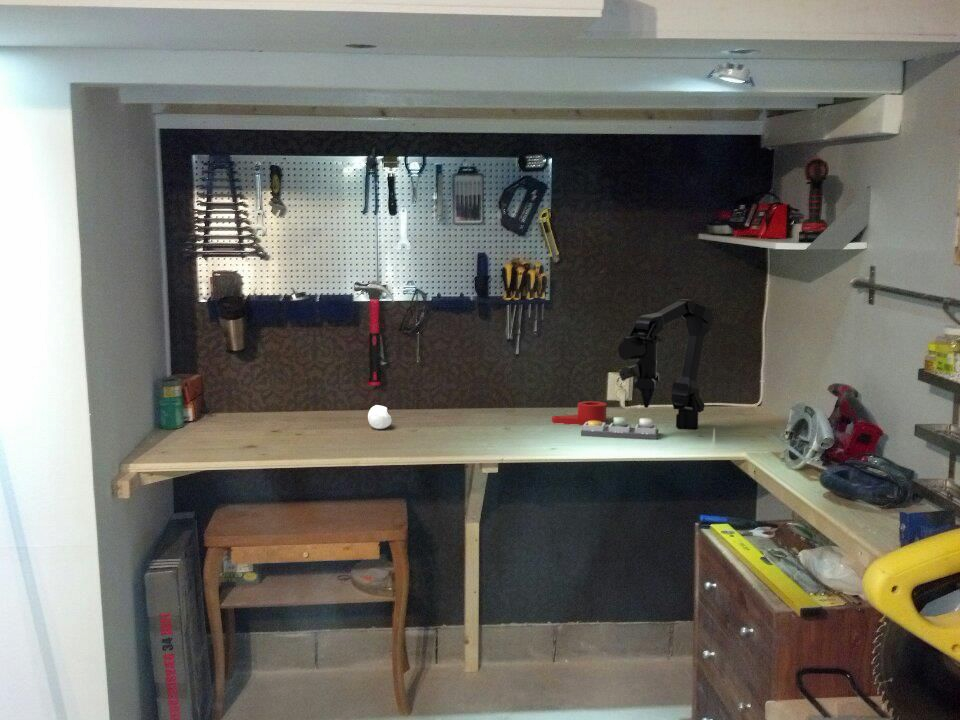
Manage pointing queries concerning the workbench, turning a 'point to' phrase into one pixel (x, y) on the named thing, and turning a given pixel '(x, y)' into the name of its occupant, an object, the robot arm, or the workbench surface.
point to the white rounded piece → (379, 417)
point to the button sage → (620, 421)
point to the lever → (584, 413)
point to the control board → (620, 431)
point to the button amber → (594, 423)
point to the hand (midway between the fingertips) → (646, 407)
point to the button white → (646, 422)
